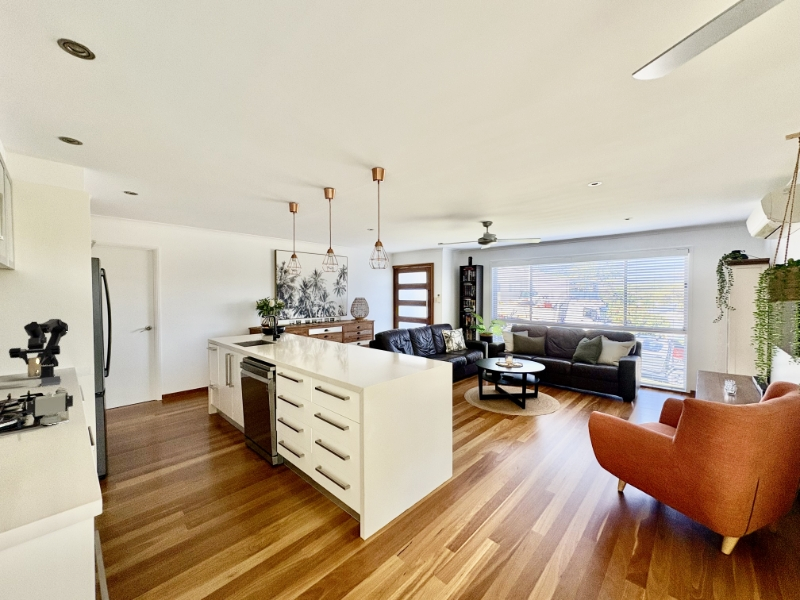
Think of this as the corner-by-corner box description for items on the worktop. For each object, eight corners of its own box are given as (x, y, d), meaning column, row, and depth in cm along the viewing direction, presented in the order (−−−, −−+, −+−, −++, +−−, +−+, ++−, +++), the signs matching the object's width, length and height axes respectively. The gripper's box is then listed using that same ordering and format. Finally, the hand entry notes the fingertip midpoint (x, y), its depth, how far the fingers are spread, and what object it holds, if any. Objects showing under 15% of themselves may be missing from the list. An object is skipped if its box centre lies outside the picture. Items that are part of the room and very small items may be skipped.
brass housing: (28, 375, 176) (28, 357, 176) (41, 374, 179) (41, 356, 179) (26, 377, 172) (26, 359, 172) (40, 376, 175) (40, 358, 175)
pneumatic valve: (72, 422, 124) (72, 391, 124) (26, 430, 115) (26, 397, 115) (72, 418, 128) (73, 388, 128) (28, 426, 119) (28, 394, 119)
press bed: (43, 383, 180) (43, 375, 180) (61, 381, 185) (61, 373, 185) (41, 386, 174) (41, 378, 174) (59, 384, 178) (59, 376, 178)
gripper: (9, 333, 172) (4, 356, 164) (59, 331, 185) (57, 352, 177) (12, 346, 178) (8, 369, 170) (61, 343, 190) (59, 364, 182)
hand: (34, 363), depth 174 cm, fingers closed on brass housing, 5 cm apart
